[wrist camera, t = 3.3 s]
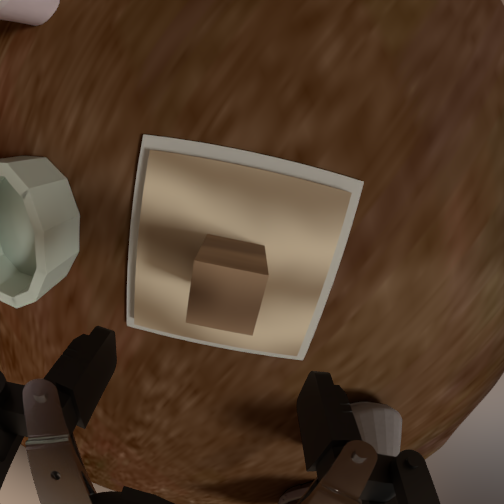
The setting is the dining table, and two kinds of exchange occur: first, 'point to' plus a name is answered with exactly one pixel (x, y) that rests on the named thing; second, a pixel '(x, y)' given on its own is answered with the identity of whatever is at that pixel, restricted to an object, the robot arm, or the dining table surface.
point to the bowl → (34, 228)
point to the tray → (251, 161)
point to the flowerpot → (294, 494)
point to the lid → (233, 251)
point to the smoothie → (28, 10)
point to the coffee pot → (379, 427)
